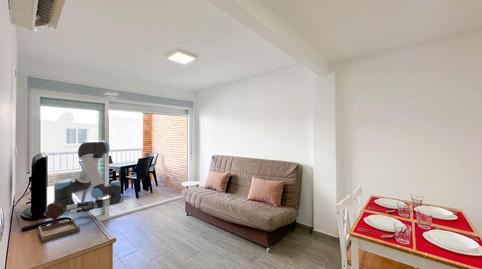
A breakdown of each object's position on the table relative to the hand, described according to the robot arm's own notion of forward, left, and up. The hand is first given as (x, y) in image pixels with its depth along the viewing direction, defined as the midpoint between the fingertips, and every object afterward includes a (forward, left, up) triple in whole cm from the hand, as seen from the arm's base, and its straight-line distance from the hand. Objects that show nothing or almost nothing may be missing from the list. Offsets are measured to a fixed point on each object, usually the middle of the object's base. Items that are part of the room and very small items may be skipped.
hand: (68, 210), depth 152 cm
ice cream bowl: (-1, -7, -8) cm, 11 cm away
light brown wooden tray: (+17, -7, -8) cm, 21 cm away
